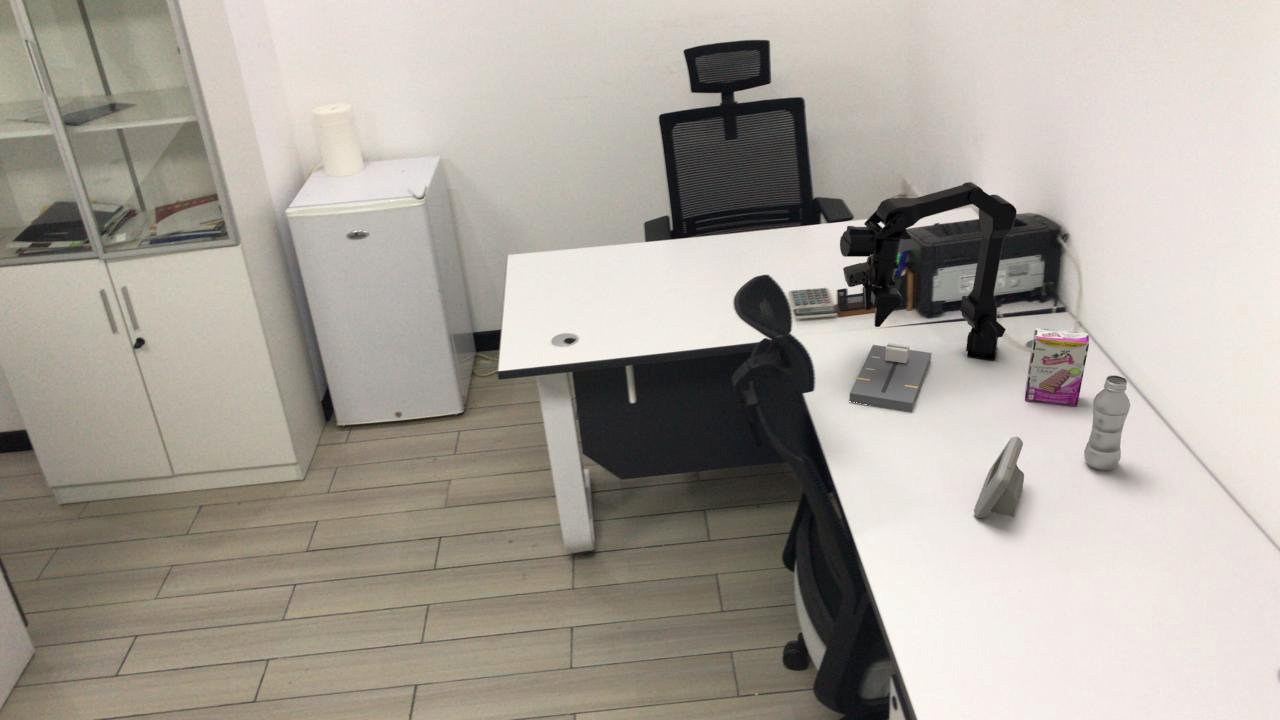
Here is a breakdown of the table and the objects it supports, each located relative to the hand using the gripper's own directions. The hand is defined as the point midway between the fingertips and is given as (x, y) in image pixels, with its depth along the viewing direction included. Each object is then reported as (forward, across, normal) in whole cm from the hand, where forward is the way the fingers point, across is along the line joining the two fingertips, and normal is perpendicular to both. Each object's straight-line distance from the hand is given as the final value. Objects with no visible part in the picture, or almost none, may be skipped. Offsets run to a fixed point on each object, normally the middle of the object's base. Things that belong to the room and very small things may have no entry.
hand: (872, 318), depth 233 cm
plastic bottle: (+10, +43, +38) cm, 59 cm away
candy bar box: (+10, +18, +38) cm, 43 cm away
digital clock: (+14, +52, +15) cm, 55 cm away
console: (+14, +5, +6) cm, 16 cm away
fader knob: (+10, 0, +8) cm, 13 cm away
